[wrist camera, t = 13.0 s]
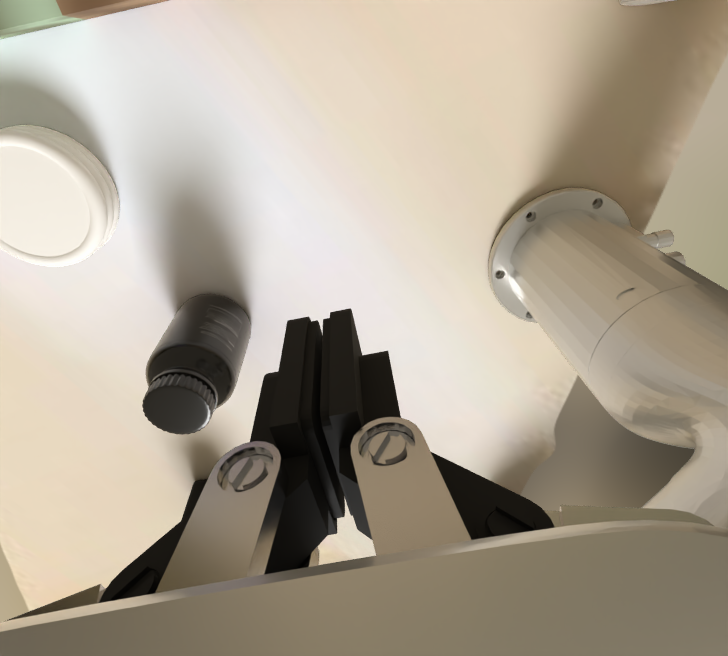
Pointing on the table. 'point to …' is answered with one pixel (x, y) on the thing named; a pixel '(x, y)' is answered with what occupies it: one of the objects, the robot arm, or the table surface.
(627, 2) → the photo printer
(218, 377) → the supplement bottle
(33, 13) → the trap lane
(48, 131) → the coaster
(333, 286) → the table surface
